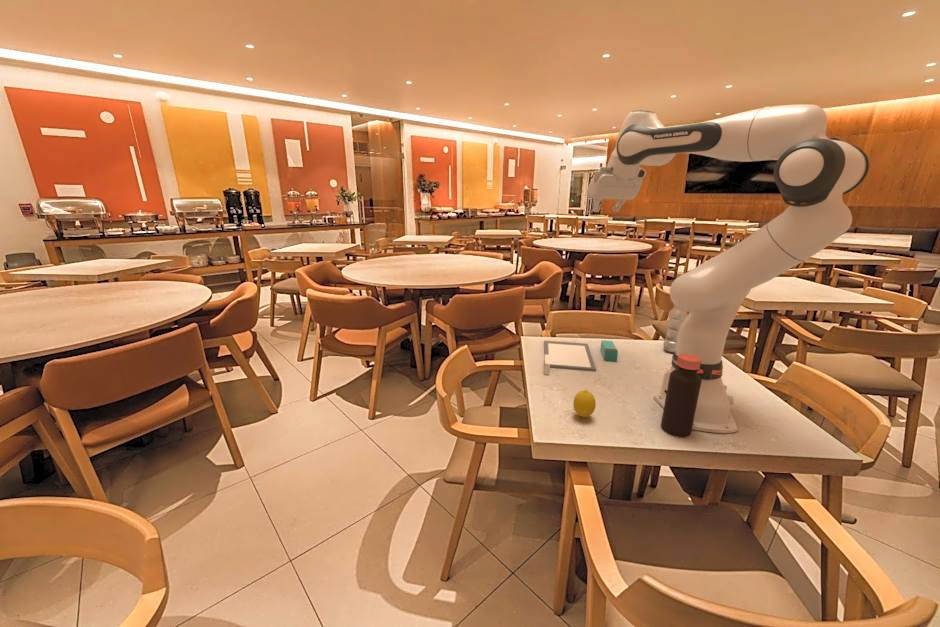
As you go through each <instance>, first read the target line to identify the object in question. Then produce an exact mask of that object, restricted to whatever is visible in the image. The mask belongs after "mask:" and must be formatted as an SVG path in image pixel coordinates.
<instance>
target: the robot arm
mask: <svg viewBox="0 0 940 627" xmlns="http://www.w3.org/2000/svg"><path fill="white" fill-rule="evenodd" d="M827 126H828V117H827V114H826V111H825V110H824V109H823V108H822V107H821V106H820V105H816V104H808V103H807V104H801V103H800V104H784V105H773V106H767V107H761V108H756V109H755V108H754V109H751V110H746V111H742V112H739V113H734V114H731V115H727V116H722V117H718V118H715V119H710V120H705V121H701V122H697V123H691V124H690V123H689V124H684V125H675V126H668V127H667V126H665V125H664V124H662V122H661V121H660V120H659V118H658V116H657V114H656V112H654V111H649V110H643V109H642V110H639V109H638V110H633V111H631V112H629V113H628V114H627V116H626V117H625V119H624V120H623V122H622V125H621V127H620V129H619V132H618V134H617V137H616V140H615V147H614V150H613V151H612V152H611V154H610V157H609V160H608V162H607V165H606V167H605V166H601V167H600V168H599V169H597V170H596V171H595V173H594V175H593V176H592V178H591V180H590V182H589V185H588V187H587V189H586V195H587V197H588V198H591V199H592V204H593V205H592V206H593V207H592V209H591V211H592V212H594V213H599V212H600V210H601V206H600V203H601V201H602V200H617V202H616V203H615V205H613V206H612V208H611V210H612V212H614V213H619V211H620V210H621V207H622V206H623V205H624V204H625V203H626V201H627V200H634V199H635V198H636V197H637V195H638V194H639V191H640V189H641V187H642V184H643V179H645V177H646V175H647V170H645V169H644V168H642V167H641V166H649V167H651V166H652V167H660V166H665V165H667V164H669V163H670V162H672V160H674V158H675V156H676V155H677V154H678V155H679V154H693V155H698V156H703V157H709V158H712V159H713V158H714V159H717V160H723V161H728V162H729V161H730V162H740V163H743V162H744V163H746V162H747V163H749V162H761V161H776V162H775V165H774V169H773V179H774V180H773V181H774V183H775V185H776V186H777V189H778V190H779V192H780V195H781V198H782V200H783V202H784V204H786V205H788V207H787V208H786V209H785V210H784V211H783V212H781V213H780V214H779V215H778V216H776V217H775V218H773V219H771V220H770V221H769V222H767V223H766V224H764V225H763V226H762V227H760V228H758V229H757V230H755V231H754V232H752V233H751V234H749V236H747V237H745V238H744V239H742V240H741V241H739V242H738V243H736V244H735V245H733V246H731V247H730V248H728V249H726V250H724V251H722V252H720V253H719V254H717V255H715V256H713V257H711V258H709V259H707V260H706V261H704V262H702V263H701V264H698V265H697V266H696V267H694V268H692V269H691V270H688V271H687V272H685V273H682V274H681V275H679V276H678V277H676V278H675V279H674V280H673V281H672V282H671V285H670V287H669V297H670V300H671V302H672V304H673V306H674V305H675V306H676V307H677V308H679V309H680V310H683V311H686V312H687V313H688V312H689V313H688V314H687V315H688V316H687V318H686V319H685V321H684V322H683V323H682V324H681V326H680V329H679V334H678V340H677V345H676V351H674V353H672V356H671V366H670V367H669V368H668V370H665V372H664V373H663V377H662V380H661V384H660V390H659V392H657V393H654V395H653V399H654V400H655V402H656V403H658V404H659V406H661V407H662V409H664V405H665V399H666V393H667V388H668V382H669V377H670V373H671V372H672V371H674V370H675V369H677V366H676V365H677V364H676V363H677V357H678V355H679V354H691V355H695V356H697V357H699V358H700V359H701V364H700V368H699V371H697V373H698V375H699V376H700V377H701V379H702V382H701V387H700V392H699V396H698V401H697V406H696V411H695V416H694V421H693V425H692V430H695V431H699V432H706V433H716V434H731V433H736V432H738V430H739V429H738V428H739V427H738V425H737V423H736V421H735V418H734V416H733V415H732V413H731V405H733V404H734V397H733V396H732V395H728V394H727V385H725V384H724V381H723V379H722V376H723V372H724V371H723V369H724V366H723V359H722V358H723V354H724V349H725V345H726V340H727V336H728V334H729V332H730V328H731V326H732V324H733V322H734V320H735V318H736V317H737V315H738V312H739V309H740V307H741V305H742V303H743V302H744V300H745V299H746V297H747V296H748V295H749V294H750V293H751V290H752V289H754V288H756V287H759V286H760V285H763V284H765V283H767V282H769V281H771V280H773V279H775V278H777V277H778V276H780V275H782V274H784V273H786V272H787V271H789V270H790V269H792V268H794V267H796V266H798V265H799V264H802V263H803V262H804V261H806V260H808V259H810V258H811V257H813V256H815V255H816V254H818V253H819V252H821V251H823V250H824V249H825V248H827V247H829V245H831V244H832V243H833V242H835V241H836V240H837V239H839V238H840V237H841V236H843V235H844V234H845V233H846V232H847V231H848V230H849V229H850V227H851V226H852V223H853V216H852V211H851V210H850V208H849V207H848V206H847V205H846V203H845V202H844V200H843V196H844V195H846V194H848V193H850V192H852V191H853V190H855V189H857V187H858V186H860V185H861V184H863V182H864V181H865V179H866V177H867V176H868V174H869V171H870V159H869V157H868V155H867V154H866V152H864V151H863V150H862V149H861V148H860V147H858V146H857V145H854V144H852V143H848V142H846V141H844V140H842V139H839V138H837V137H828V136H827V134H826V133H827V132H826V131H827ZM675 306H674V307H675Z"/></svg>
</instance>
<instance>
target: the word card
mask: <svg viewBox="0 0 940 627" xmlns="http://www.w3.org/2000/svg"><path fill="white" fill-rule="evenodd" d="M543 357H544V356H543ZM543 359H544V360H543V375H544V376H550V371H551V370H550V369H551V368H550V356H549V355H548V354H545V357H544V358H543Z"/></svg>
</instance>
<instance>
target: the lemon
mask: <svg viewBox="0 0 940 627" xmlns="http://www.w3.org/2000/svg"><path fill="white" fill-rule="evenodd" d="M573 410H574V412H575V413H576V414H577V415H578V416H580V417H581V418H587V417H590V416H591V415H592V414H593V413H594V412H595V410H596V399H595V396H594V395H593V393H592V392H591V391H588V390H587V389H584V390H580V391H578V392H577V393H576V394H575V396H574V398H573Z"/></svg>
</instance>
